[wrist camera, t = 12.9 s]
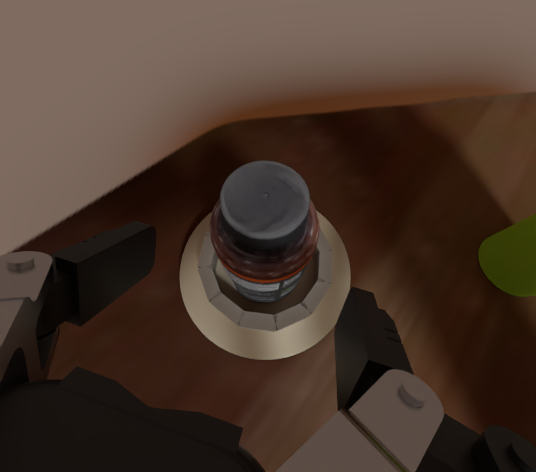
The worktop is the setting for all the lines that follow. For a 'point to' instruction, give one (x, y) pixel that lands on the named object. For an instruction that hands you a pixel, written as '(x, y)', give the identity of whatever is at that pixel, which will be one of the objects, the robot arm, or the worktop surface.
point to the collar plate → (265, 314)
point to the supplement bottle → (264, 230)
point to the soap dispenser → (511, 258)
